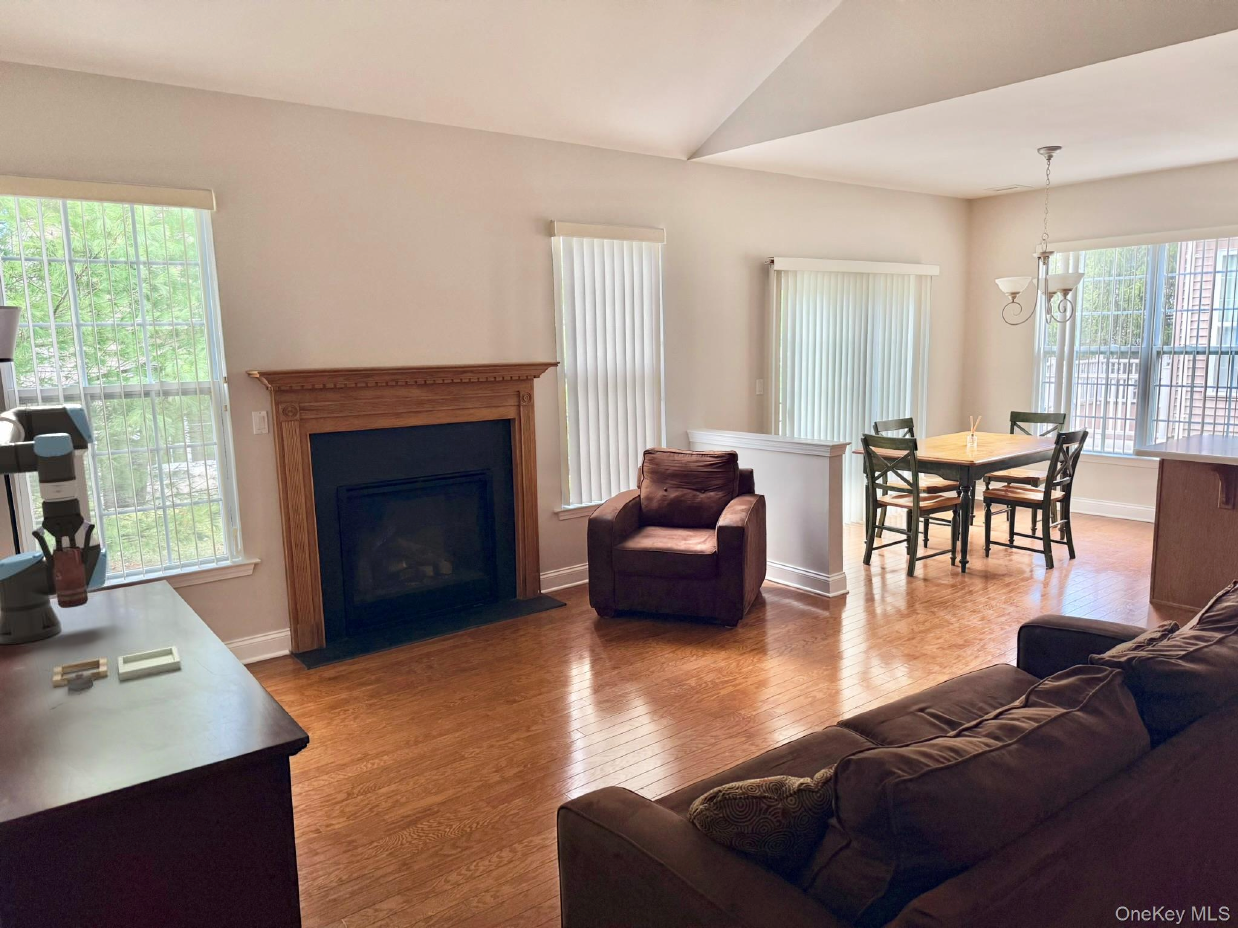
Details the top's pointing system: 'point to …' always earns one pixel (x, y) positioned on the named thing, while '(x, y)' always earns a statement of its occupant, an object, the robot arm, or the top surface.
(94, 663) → the collar block
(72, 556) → the can
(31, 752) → the top surface
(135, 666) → the tray
